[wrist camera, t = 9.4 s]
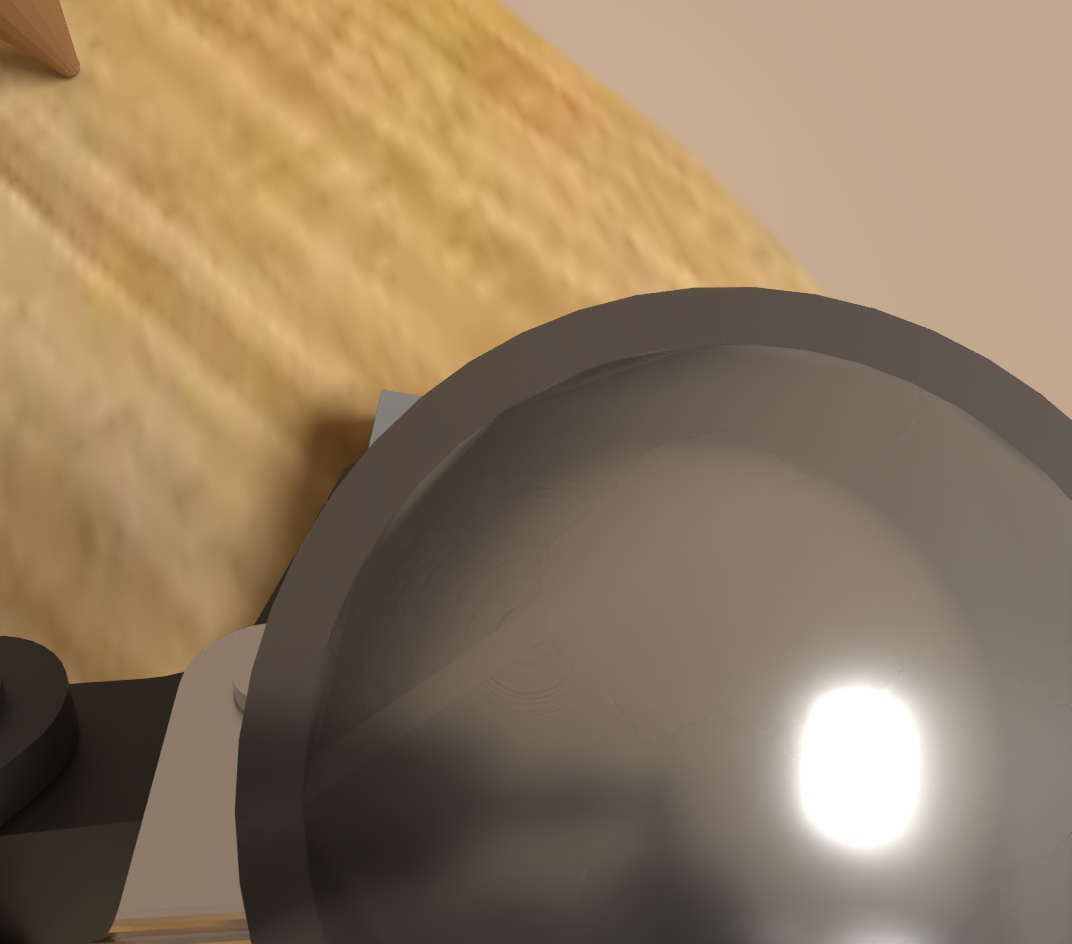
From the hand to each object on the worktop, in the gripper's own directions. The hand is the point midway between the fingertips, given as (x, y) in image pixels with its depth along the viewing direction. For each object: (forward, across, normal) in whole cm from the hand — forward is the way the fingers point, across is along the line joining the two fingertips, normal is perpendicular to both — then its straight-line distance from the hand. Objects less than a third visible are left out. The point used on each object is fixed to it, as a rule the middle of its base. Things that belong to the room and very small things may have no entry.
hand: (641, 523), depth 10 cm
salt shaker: (+1, 0, +4) cm, 4 cm away
